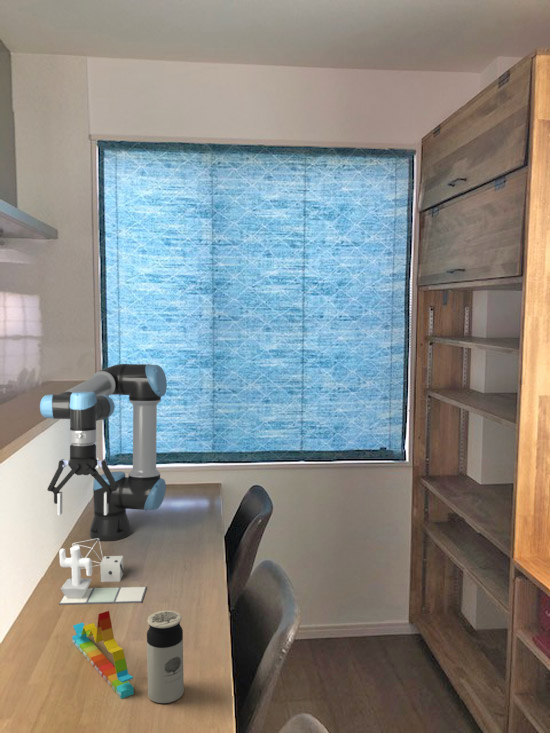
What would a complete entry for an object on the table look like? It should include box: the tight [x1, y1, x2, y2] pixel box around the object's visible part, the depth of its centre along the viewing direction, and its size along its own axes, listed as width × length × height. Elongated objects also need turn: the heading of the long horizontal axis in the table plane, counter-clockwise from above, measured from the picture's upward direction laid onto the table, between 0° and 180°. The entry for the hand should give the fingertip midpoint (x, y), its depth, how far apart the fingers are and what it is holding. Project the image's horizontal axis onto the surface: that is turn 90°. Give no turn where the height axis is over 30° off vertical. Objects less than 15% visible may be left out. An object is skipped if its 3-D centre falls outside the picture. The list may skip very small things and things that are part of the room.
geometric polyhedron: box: [71, 538, 104, 570], centre depth 219 cm, size 10×9×8 cm
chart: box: [72, 610, 135, 700], centre depth 158 cm, size 30×3×15 cm, turn 37°
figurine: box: [58, 544, 93, 599], centre depth 195 cm, size 7×9×15 cm
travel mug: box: [146, 609, 185, 704], centre depth 147 cm, size 8×8×18 cm
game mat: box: [58, 586, 147, 606], centre depth 196 cm, size 10×24×1 cm, turn 93°
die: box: [99, 555, 125, 583], centre depth 208 cm, size 6×6×6 cm
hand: (82, 514), depth 195 cm, fingers open, 13 cm apart
